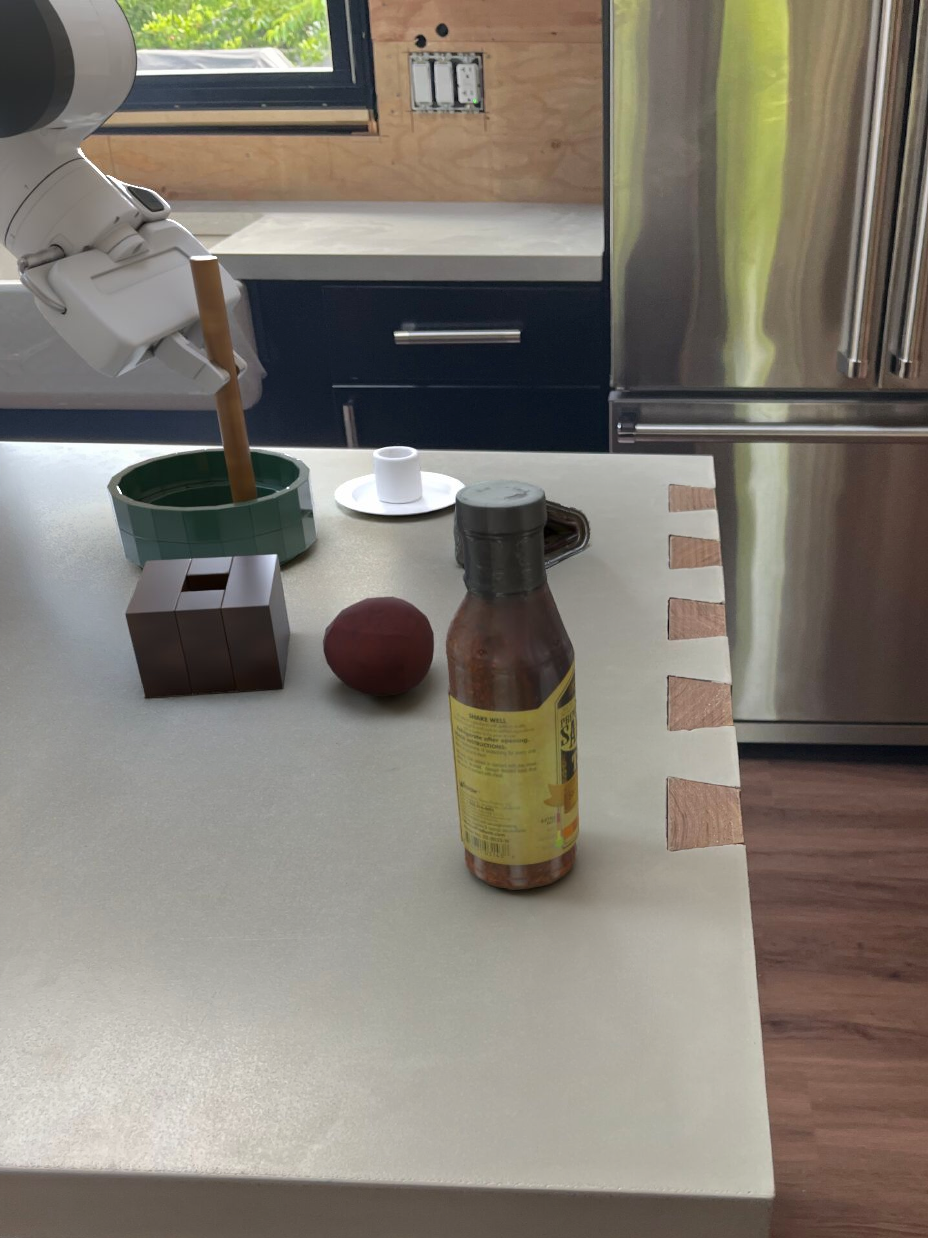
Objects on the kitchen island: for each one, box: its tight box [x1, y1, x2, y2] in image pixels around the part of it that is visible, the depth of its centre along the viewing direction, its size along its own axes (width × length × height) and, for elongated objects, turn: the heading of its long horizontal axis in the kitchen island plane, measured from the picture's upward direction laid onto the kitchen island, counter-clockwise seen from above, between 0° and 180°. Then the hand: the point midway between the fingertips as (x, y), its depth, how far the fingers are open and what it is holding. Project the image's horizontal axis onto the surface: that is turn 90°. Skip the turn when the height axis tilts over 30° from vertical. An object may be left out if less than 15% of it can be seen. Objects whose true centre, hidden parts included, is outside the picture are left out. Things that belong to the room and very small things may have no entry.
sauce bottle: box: [445, 479, 580, 891], centre depth 58 cm, size 7×6×20 cm
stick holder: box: [124, 554, 291, 699], centre depth 80 cm, size 9×9×6 cm
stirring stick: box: [189, 255, 258, 503], centre depth 93 cm, size 2×2×20 cm
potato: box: [322, 596, 435, 697], centre depth 77 cm, size 7×8×6 cm
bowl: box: [106, 447, 318, 569], centre depth 97 cm, size 16×16×6 cm
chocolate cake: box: [453, 499, 591, 569], centre depth 97 cm, size 10×7×12 cm
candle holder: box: [334, 445, 466, 516], centre depth 108 cm, size 12×12×4 cm
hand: (231, 381), depth 92 cm, fingers closed on stirring stick, 2 cm apart
